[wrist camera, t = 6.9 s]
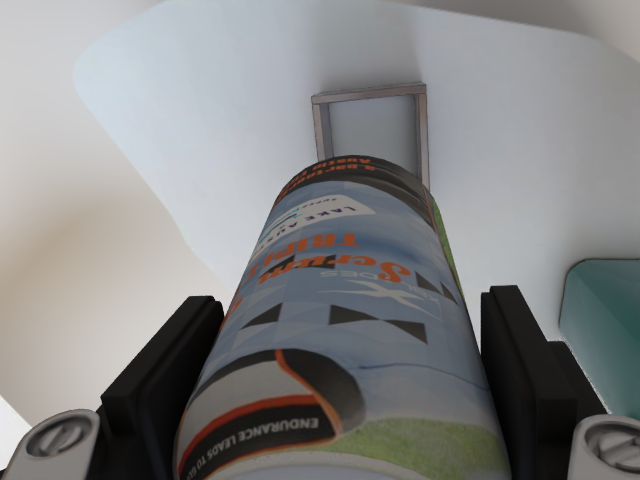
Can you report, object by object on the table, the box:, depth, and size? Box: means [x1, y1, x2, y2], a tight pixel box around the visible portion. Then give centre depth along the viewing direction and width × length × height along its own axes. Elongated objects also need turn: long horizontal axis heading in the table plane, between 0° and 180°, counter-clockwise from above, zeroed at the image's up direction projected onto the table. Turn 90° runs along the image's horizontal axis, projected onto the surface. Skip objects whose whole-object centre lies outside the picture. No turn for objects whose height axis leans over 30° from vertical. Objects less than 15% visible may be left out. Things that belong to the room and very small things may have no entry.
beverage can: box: [172, 155, 512, 480], centre depth 12 cm, size 6×7×12 cm
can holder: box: [311, 82, 430, 192], centre depth 39 cm, size 9×8×5 cm
